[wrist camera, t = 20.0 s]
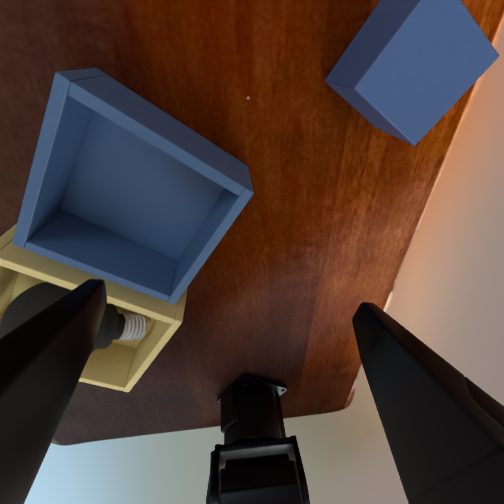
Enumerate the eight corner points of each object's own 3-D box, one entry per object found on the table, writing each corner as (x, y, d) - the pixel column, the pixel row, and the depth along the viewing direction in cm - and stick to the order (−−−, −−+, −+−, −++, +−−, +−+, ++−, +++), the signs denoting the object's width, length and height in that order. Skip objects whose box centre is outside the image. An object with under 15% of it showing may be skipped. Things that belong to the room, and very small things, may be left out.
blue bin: (248, 166, 18) (254, 193, 15) (182, 265, 23) (174, 305, 19) (96, 67, 15) (54, 71, 11) (51, 208, 19) (11, 244, 15)
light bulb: (140, 382, 24) (-21, 398, 17) (126, 327, 28) (-6, 322, 21) (174, 327, 22) (9, 319, 15) (154, 277, 26) (19, 254, 19)
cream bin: (188, 282, 24) (182, 322, 20) (140, 350, 28) (128, 392, 25) (26, 214, 19) (-19, 251, 15) (1, 309, 24) (-39, 355, 20)
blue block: (435, 55, 16) (500, 55, 12) (375, 127, 18) (415, 146, 14) (384, -7, 14) (442, -29, 10) (323, 81, 16) (353, 88, 12)
